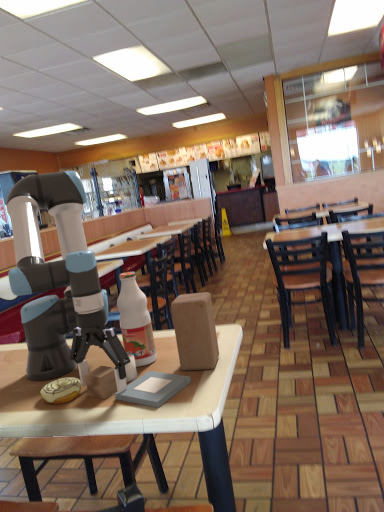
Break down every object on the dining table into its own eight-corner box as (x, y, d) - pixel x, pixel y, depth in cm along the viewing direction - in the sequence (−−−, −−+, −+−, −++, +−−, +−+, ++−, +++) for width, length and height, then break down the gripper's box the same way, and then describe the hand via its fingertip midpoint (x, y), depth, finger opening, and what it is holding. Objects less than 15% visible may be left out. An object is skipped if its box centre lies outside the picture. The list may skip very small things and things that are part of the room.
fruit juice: (163, 358, 130) (148, 270, 126) (137, 369, 124) (121, 277, 120) (146, 353, 137) (132, 269, 133) (121, 363, 131) (105, 276, 127)
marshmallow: (113, 381, 119) (110, 360, 118) (127, 372, 123) (123, 353, 122) (128, 383, 115) (124, 362, 115) (141, 374, 120) (138, 355, 119)
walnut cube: (88, 396, 111) (84, 374, 111) (105, 386, 116) (101, 365, 115) (104, 399, 108) (100, 377, 107) (120, 389, 113) (116, 367, 112)
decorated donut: (48, 411, 106) (45, 397, 106) (38, 397, 115) (35, 384, 115) (87, 395, 112) (85, 382, 111) (75, 383, 121) (72, 371, 120)
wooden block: (215, 370, 116) (204, 299, 113) (180, 372, 118) (169, 303, 115) (220, 355, 125) (210, 290, 123) (187, 358, 127) (177, 294, 125)
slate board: (115, 399, 107) (114, 393, 107) (150, 375, 118) (149, 370, 118) (158, 407, 99) (156, 401, 99) (191, 382, 110) (190, 376, 110)
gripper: (47, 313, 113) (62, 388, 115) (114, 315, 99) (129, 400, 101) (69, 306, 119) (83, 377, 121) (135, 306, 105) (149, 386, 107)
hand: (104, 387), depth 111 cm, fingers open, 13 cm apart
